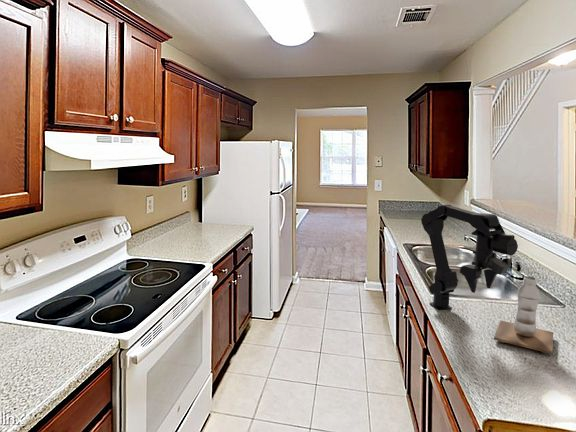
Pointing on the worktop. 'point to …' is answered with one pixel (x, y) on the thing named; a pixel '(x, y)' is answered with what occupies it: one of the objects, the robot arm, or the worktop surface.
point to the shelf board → (525, 338)
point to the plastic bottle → (527, 307)
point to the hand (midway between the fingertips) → (481, 290)
